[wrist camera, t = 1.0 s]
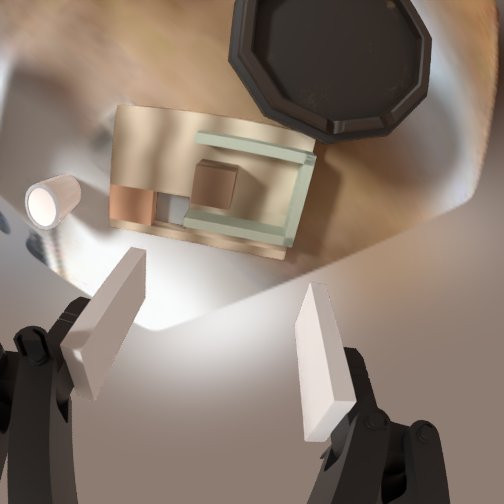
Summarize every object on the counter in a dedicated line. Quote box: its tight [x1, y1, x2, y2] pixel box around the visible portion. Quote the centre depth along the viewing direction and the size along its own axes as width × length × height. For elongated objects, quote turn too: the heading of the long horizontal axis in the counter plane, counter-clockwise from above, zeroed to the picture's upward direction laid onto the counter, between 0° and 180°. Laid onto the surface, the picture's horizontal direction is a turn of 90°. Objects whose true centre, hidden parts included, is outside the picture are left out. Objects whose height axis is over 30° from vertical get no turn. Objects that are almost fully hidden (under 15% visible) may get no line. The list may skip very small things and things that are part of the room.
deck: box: [109, 105, 315, 260], centre depth 38 cm, size 25×17×2 cm
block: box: [190, 159, 239, 210], centre depth 35 cm, size 4×4×4 cm
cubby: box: [183, 130, 317, 248], centre depth 36 cm, size 14×12×3 cm
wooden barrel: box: [228, 0, 432, 144], centre depth 25 cm, size 18×18×16 cm
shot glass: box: [25, 174, 81, 230], centre depth 37 cm, size 7×7×7 cm
